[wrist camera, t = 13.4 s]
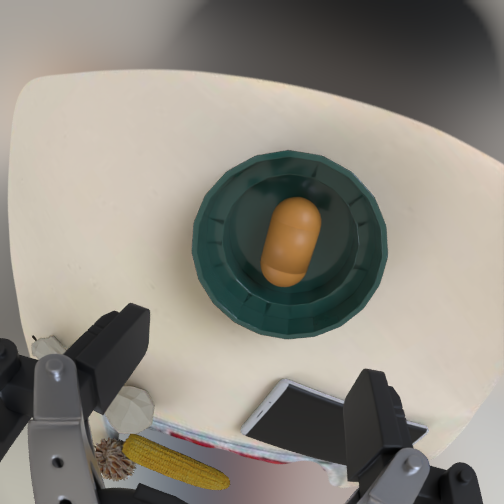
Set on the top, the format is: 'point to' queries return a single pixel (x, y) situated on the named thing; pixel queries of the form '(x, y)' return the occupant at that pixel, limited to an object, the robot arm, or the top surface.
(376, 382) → the robot arm
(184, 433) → the top surface
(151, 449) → the food
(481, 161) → the top surface
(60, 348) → the faceted club
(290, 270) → the bread roll
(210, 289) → the green round bowl
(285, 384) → the smartphone
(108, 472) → the pine cone
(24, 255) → the top surface
